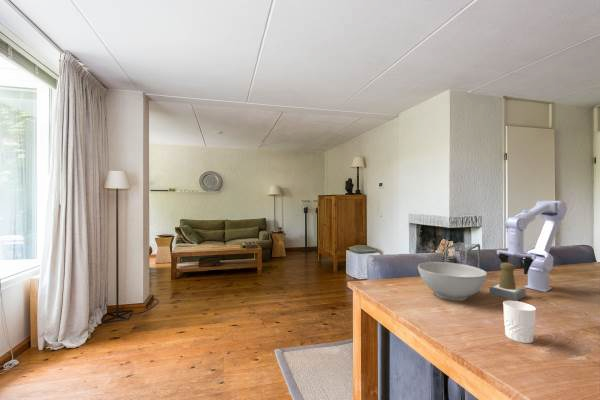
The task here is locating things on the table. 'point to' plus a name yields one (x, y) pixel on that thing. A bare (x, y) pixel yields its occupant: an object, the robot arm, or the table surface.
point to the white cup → (519, 321)
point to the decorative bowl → (452, 279)
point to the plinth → (508, 292)
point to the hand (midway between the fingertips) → (515, 272)
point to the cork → (507, 276)
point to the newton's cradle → (463, 252)
